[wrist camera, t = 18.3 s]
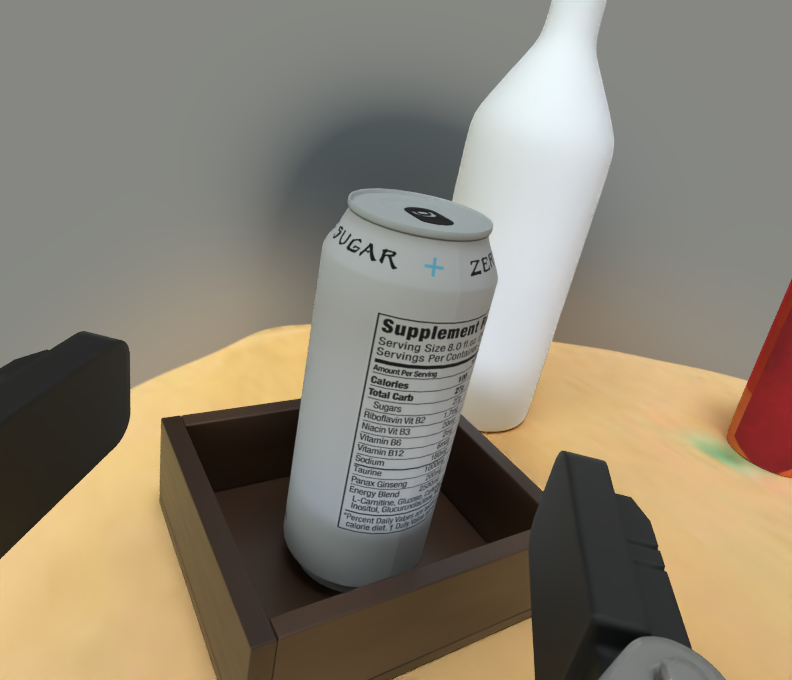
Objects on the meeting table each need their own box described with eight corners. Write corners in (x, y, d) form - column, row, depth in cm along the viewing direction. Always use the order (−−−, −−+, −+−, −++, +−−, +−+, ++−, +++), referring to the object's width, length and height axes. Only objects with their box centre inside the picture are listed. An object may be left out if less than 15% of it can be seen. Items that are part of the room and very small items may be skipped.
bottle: (459, 444, 36) (640, -195, 23) (387, 376, 41) (499, -165, 29) (551, 420, 40) (745, -124, 27) (474, 362, 46) (605, -111, 33)
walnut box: (409, 449, 34) (426, 380, 32) (549, 609, 26) (583, 528, 24) (159, 502, 27) (160, 417, 25) (238, 747, 19) (251, 649, 17)
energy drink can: (379, 488, 30) (446, 189, 23) (445, 580, 25) (549, 241, 19) (262, 514, 27) (301, 178, 20) (313, 624, 22) (384, 237, 16)
